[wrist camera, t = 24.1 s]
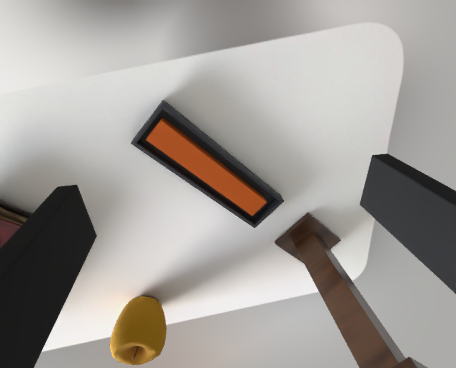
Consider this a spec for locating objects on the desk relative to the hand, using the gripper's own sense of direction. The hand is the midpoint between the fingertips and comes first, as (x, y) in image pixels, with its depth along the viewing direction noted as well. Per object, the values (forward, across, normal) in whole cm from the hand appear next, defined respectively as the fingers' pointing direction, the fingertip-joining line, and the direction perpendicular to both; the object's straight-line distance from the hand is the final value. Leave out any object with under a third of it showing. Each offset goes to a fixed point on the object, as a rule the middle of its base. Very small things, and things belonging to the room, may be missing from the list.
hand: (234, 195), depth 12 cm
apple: (+32, -18, -47) cm, 60 cm away
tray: (+32, +1, -14) cm, 35 cm away
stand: (+32, +21, -34) cm, 51 cm away
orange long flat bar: (+31, 0, -13) cm, 34 cm away
